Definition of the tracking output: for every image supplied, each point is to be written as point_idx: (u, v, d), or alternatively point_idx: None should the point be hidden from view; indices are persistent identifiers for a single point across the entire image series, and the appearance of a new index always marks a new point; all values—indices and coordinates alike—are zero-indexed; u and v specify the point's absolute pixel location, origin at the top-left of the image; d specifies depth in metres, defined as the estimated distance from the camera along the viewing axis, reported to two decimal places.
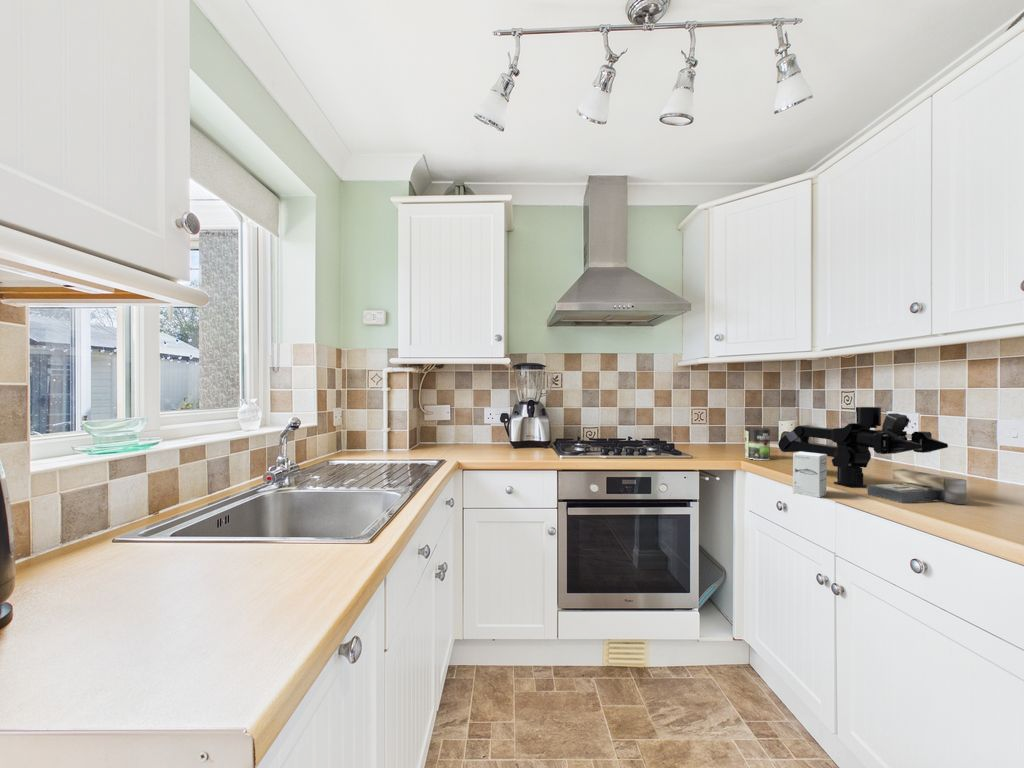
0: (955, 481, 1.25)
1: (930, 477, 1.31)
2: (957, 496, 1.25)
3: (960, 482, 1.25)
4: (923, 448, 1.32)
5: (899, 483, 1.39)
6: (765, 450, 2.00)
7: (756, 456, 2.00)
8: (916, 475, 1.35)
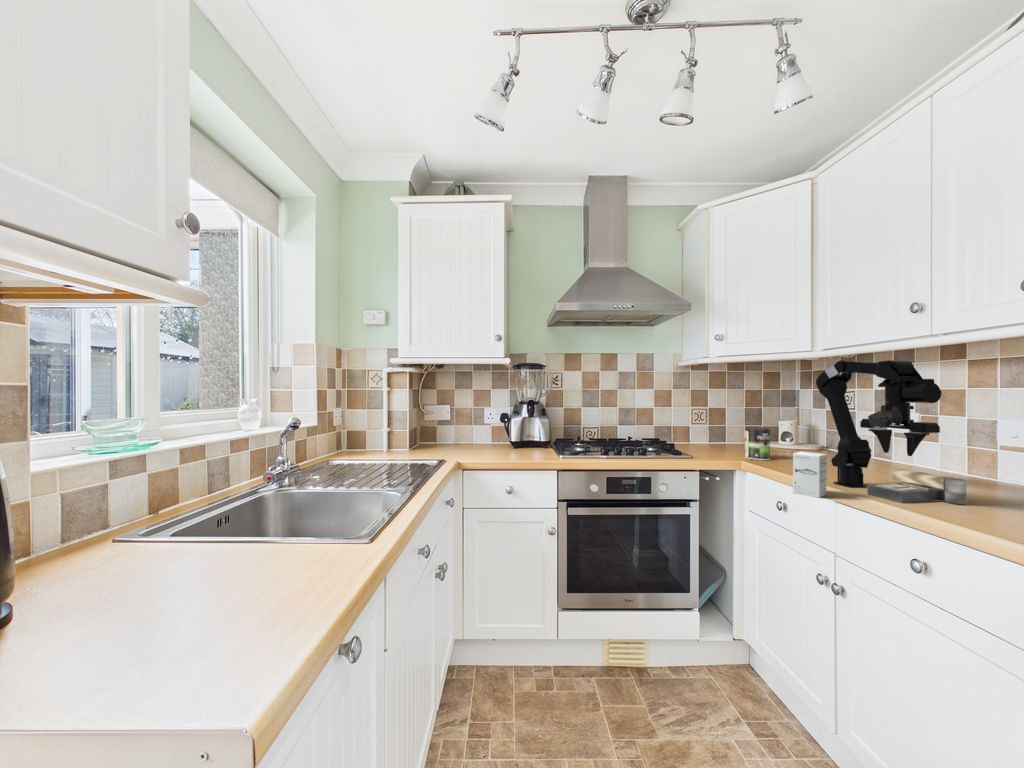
0: (955, 481, 1.25)
1: (930, 477, 1.31)
2: (957, 496, 1.25)
3: (960, 482, 1.25)
4: None
5: (899, 483, 1.39)
6: (765, 450, 2.00)
7: (756, 456, 2.00)
8: (916, 475, 1.35)
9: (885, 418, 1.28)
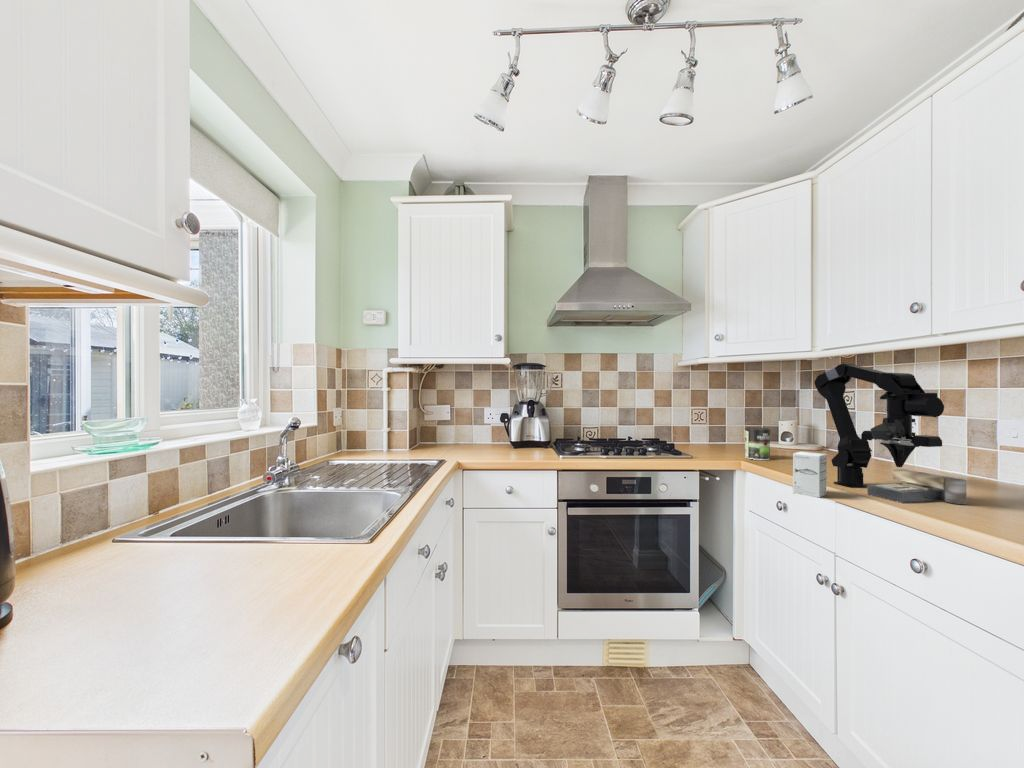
0: (955, 481, 1.25)
1: (930, 477, 1.31)
2: (957, 496, 1.25)
3: (960, 482, 1.25)
4: None
5: (899, 483, 1.39)
6: (765, 450, 2.00)
7: (756, 456, 2.00)
8: (916, 475, 1.35)
9: (888, 431, 1.28)
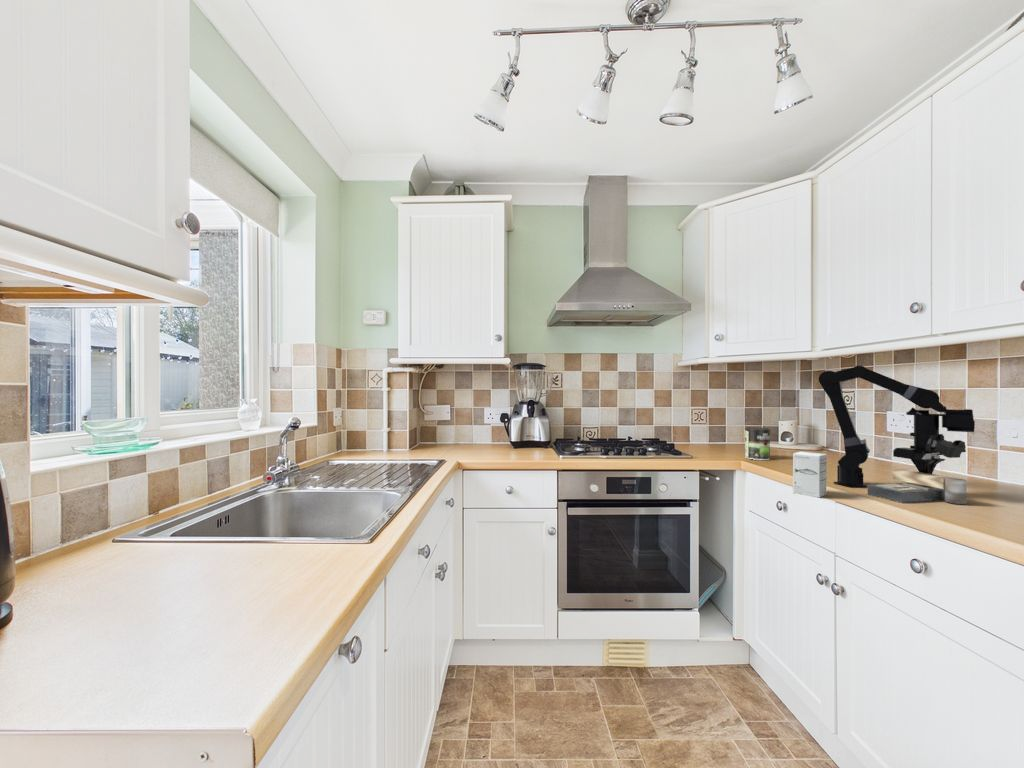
0: (955, 481, 1.25)
1: (930, 477, 1.31)
2: (957, 496, 1.25)
3: (960, 482, 1.25)
4: None
5: (899, 483, 1.39)
6: (765, 450, 2.00)
7: (756, 456, 2.00)
8: (916, 475, 1.35)
9: (964, 448, 1.30)
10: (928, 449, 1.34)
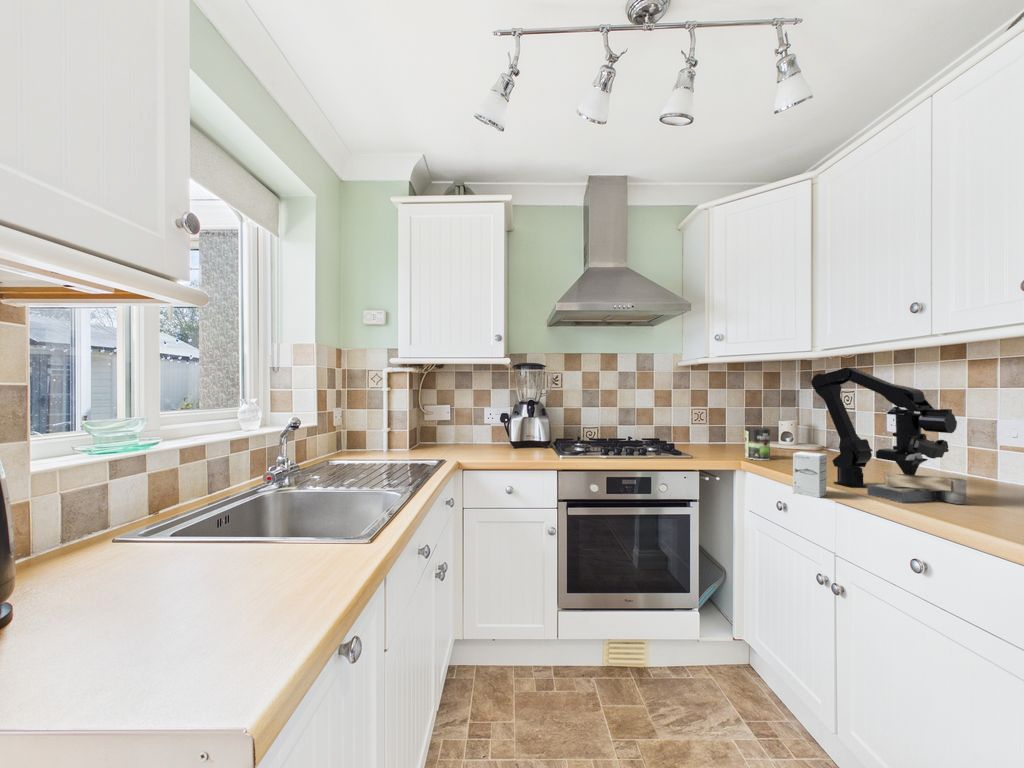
0: (963, 481, 1.25)
1: (935, 480, 1.27)
2: (964, 496, 1.25)
3: None
4: None
5: None
6: (765, 450, 2.00)
7: (756, 456, 2.00)
8: (918, 479, 1.29)
9: (947, 448, 1.27)
10: (911, 450, 1.31)
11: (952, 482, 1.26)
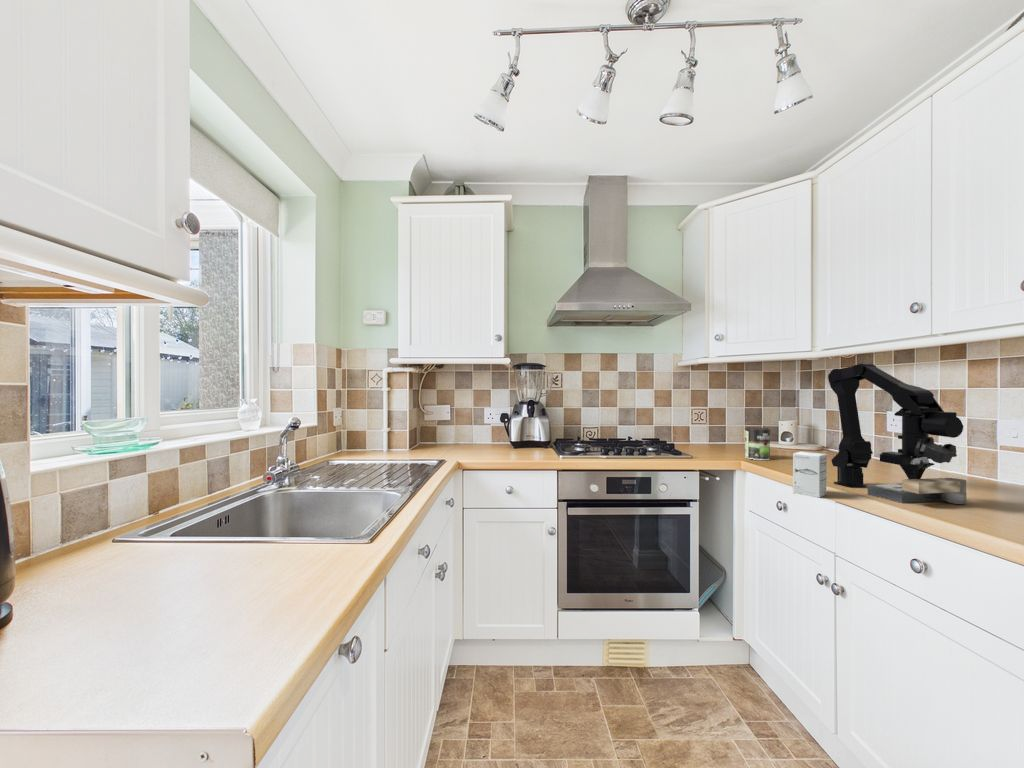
0: None
1: (950, 482, 1.24)
2: None
3: None
4: None
5: (899, 483, 1.39)
6: (765, 450, 2.00)
7: (756, 456, 2.00)
8: (939, 483, 1.23)
9: (955, 452, 1.21)
10: (917, 453, 1.25)
11: (959, 483, 1.25)
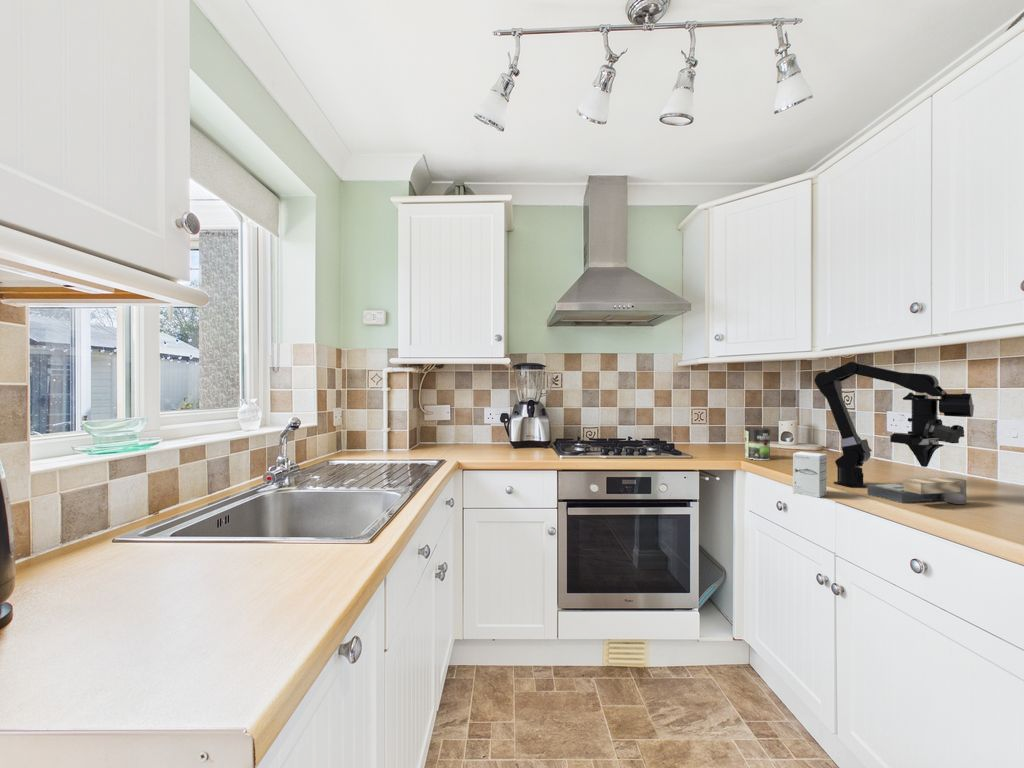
0: None
1: (951, 482, 1.24)
2: None
3: None
4: None
5: (899, 483, 1.39)
6: (765, 450, 2.00)
7: (756, 456, 2.00)
8: (940, 484, 1.23)
9: (963, 433, 1.27)
10: (926, 434, 1.31)
11: (960, 483, 1.25)
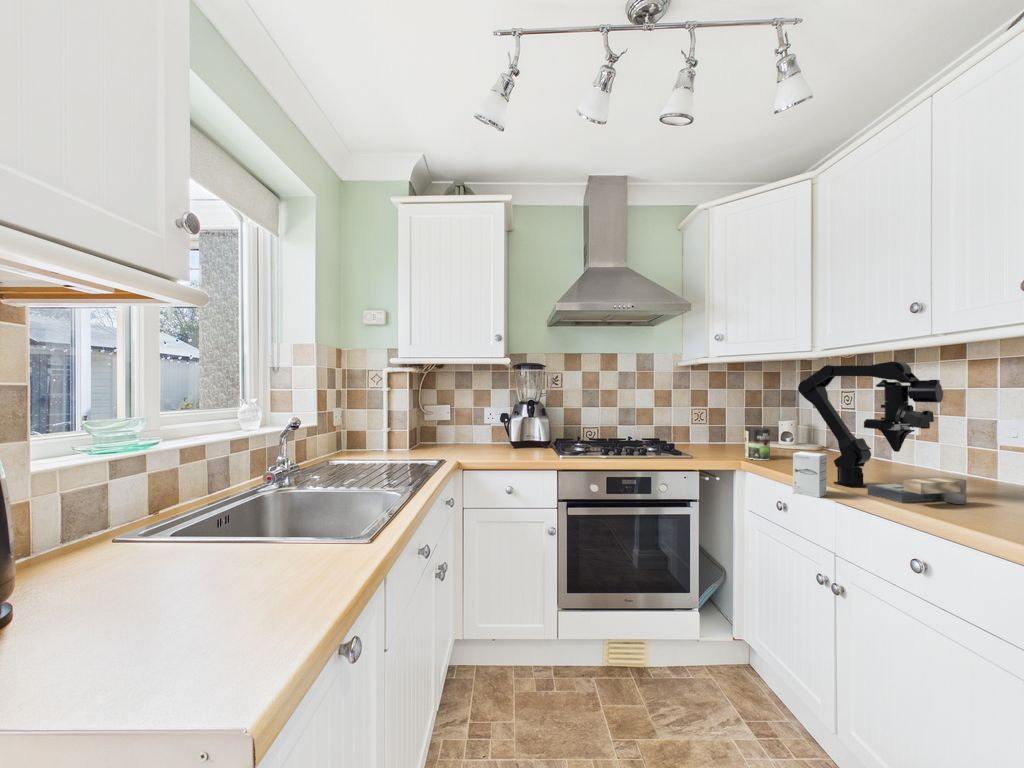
0: None
1: (951, 482, 1.24)
2: None
3: None
4: None
5: (899, 483, 1.39)
6: (765, 450, 2.00)
7: (756, 456, 2.00)
8: (940, 484, 1.23)
9: (932, 418, 1.31)
10: (897, 420, 1.36)
11: (960, 483, 1.25)
